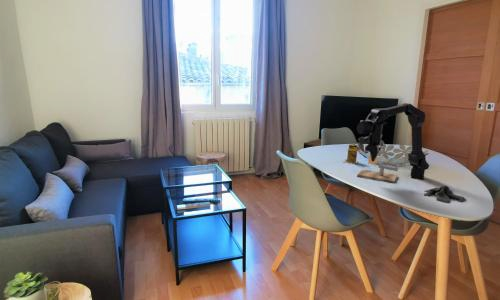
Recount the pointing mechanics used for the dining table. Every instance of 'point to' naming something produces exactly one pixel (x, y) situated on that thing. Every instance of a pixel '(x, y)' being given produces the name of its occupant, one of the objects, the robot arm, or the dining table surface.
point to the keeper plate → (377, 175)
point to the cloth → (443, 194)
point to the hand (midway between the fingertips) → (373, 160)
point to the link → (383, 164)
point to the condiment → (351, 154)
